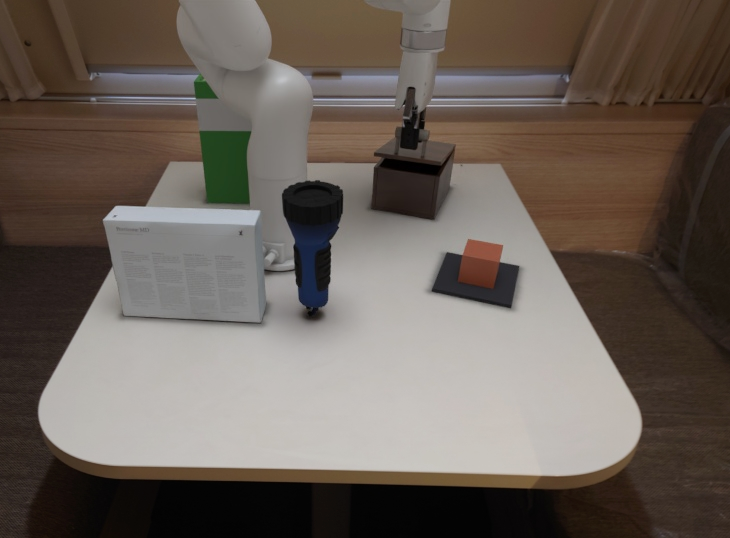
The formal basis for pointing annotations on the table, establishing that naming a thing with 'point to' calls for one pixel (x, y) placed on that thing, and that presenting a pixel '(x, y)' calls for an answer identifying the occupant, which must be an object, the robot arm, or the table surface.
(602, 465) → the table surface
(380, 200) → the chest
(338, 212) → the flashlight
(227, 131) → the hardback book
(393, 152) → the lid
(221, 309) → the skincare box
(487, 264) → the small box
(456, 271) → the mat
